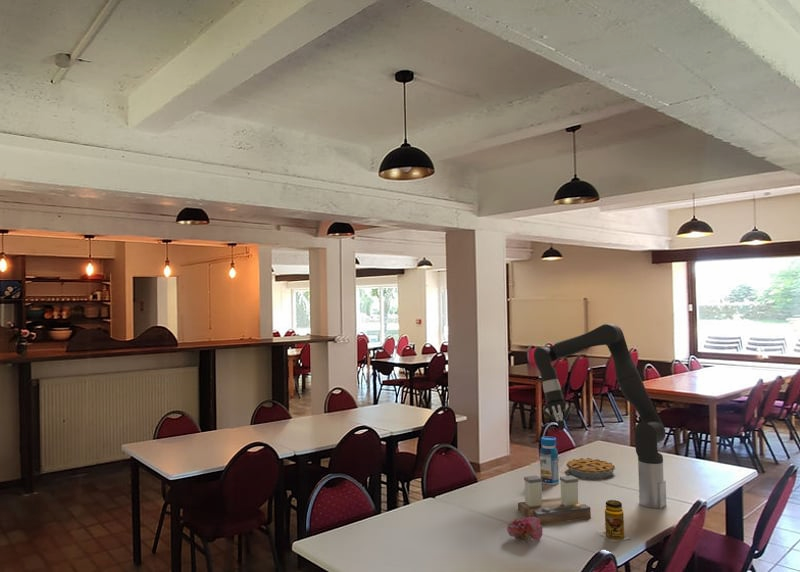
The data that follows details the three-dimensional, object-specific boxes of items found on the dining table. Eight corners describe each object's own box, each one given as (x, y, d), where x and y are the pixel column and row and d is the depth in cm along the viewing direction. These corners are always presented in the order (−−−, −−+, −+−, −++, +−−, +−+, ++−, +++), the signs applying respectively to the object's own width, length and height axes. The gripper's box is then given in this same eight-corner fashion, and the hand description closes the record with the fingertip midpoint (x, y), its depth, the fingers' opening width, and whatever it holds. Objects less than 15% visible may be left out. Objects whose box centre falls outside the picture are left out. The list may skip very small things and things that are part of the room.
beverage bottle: (561, 485, 257) (560, 440, 258) (542, 485, 257) (541, 440, 258) (556, 479, 266) (555, 435, 266) (538, 479, 266) (537, 435, 266)
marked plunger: (560, 503, 225) (559, 476, 225) (572, 501, 226) (571, 475, 226) (566, 507, 220) (565, 480, 221) (579, 505, 222) (578, 478, 222)
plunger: (524, 503, 226) (524, 476, 226) (537, 501, 227) (536, 475, 227) (530, 507, 221) (529, 480, 222) (542, 505, 223) (542, 478, 223)
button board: (517, 510, 227) (517, 498, 227) (567, 504, 233) (566, 492, 233) (538, 525, 212) (538, 512, 212) (590, 517, 218) (590, 505, 218)
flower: (512, 544, 203) (520, 516, 207) (538, 554, 197) (546, 525, 201) (500, 534, 196) (509, 506, 200) (527, 544, 189) (536, 514, 194)
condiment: (612, 542, 196) (611, 506, 196) (597, 533, 204) (596, 498, 204) (630, 539, 198) (629, 503, 198) (614, 530, 206) (613, 496, 206)
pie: (557, 470, 281) (557, 460, 281) (591, 464, 290) (591, 454, 290) (589, 482, 261) (589, 471, 261) (625, 475, 270) (625, 465, 270)
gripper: (568, 388, 260) (578, 427, 255) (539, 394, 265) (548, 432, 259) (566, 387, 254) (576, 427, 248) (536, 393, 258) (546, 432, 253)
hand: (562, 429), depth 254 cm, fingers closed
